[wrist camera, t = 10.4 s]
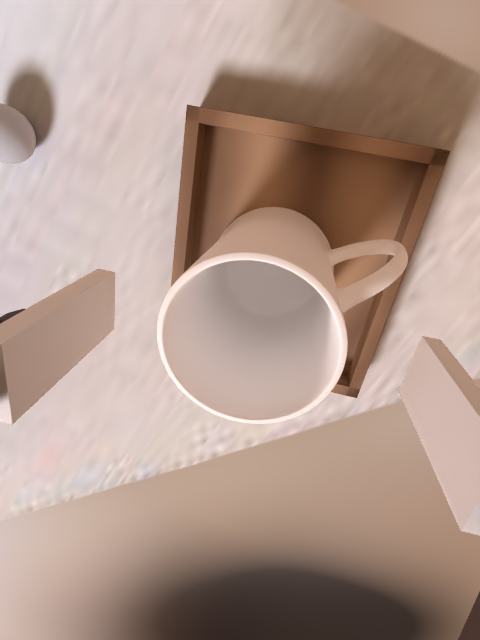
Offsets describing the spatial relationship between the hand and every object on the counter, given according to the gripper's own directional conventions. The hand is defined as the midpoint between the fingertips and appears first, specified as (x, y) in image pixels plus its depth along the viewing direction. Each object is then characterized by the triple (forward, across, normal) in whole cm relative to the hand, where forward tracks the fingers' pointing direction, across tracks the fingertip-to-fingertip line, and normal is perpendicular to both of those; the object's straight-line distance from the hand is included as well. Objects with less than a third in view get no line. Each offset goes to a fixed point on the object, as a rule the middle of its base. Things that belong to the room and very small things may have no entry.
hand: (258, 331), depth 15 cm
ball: (+12, -19, +5) cm, 23 cm away
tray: (+12, +1, 0) cm, 12 cm away
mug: (+11, +1, 0) cm, 11 cm away
